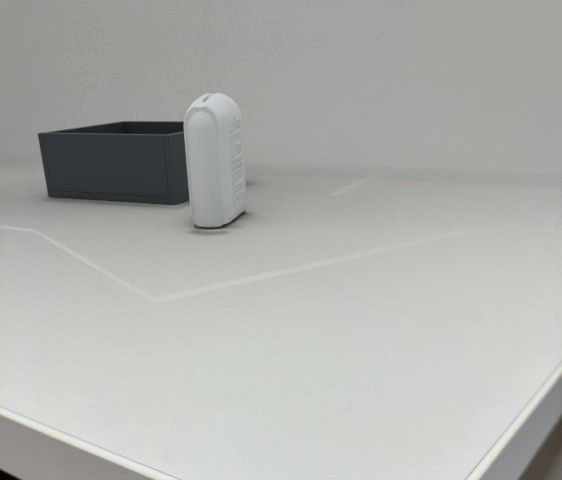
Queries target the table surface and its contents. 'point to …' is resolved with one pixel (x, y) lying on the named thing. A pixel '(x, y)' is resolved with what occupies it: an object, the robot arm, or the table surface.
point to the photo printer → (215, 160)
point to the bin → (117, 162)
